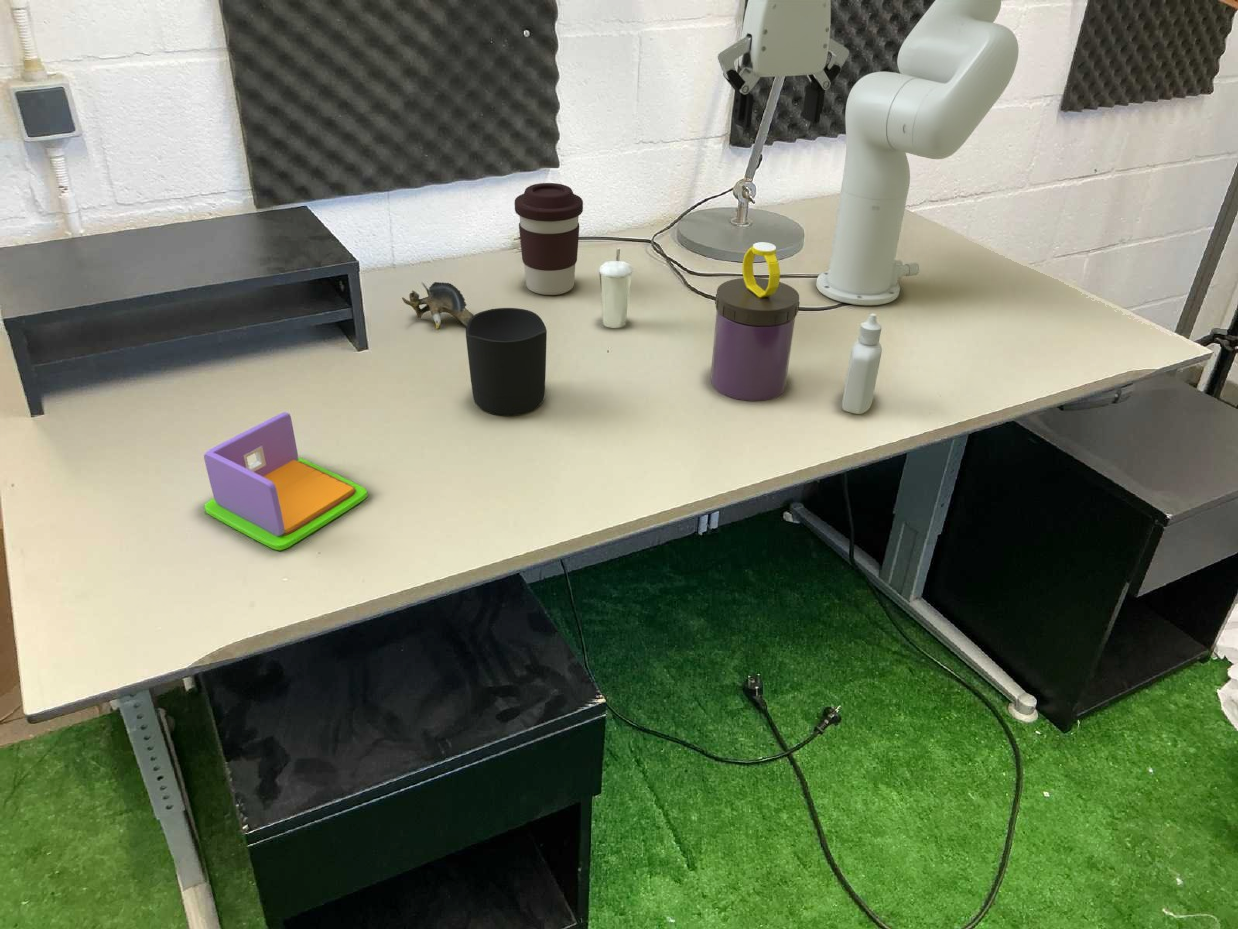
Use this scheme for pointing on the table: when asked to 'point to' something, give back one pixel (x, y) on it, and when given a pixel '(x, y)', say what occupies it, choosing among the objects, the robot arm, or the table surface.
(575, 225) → the coffee cup
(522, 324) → the pen holder
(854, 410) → the eye dropper bottle
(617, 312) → the milkshake
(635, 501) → the table surface
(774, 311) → the jar lid
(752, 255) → the watch
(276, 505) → the dollhouse room
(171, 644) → the table surface
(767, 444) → the table surface
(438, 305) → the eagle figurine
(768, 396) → the jar
